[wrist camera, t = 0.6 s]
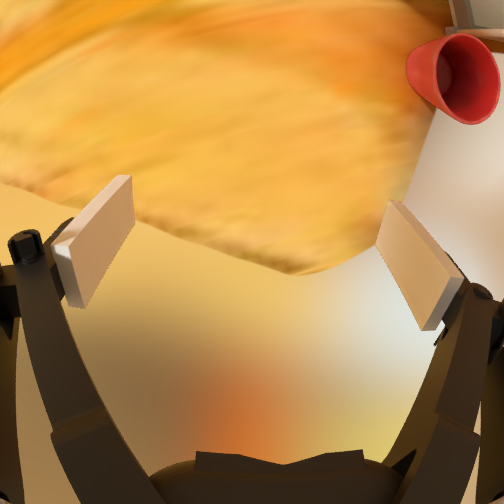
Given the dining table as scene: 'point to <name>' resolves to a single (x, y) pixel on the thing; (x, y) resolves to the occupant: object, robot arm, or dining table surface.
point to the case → (478, 18)
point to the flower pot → (456, 77)
